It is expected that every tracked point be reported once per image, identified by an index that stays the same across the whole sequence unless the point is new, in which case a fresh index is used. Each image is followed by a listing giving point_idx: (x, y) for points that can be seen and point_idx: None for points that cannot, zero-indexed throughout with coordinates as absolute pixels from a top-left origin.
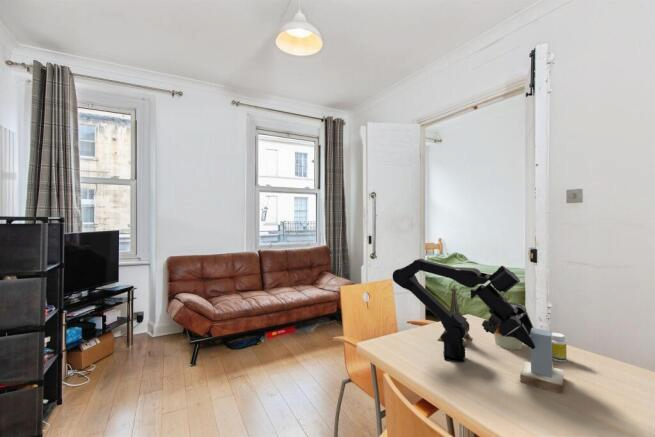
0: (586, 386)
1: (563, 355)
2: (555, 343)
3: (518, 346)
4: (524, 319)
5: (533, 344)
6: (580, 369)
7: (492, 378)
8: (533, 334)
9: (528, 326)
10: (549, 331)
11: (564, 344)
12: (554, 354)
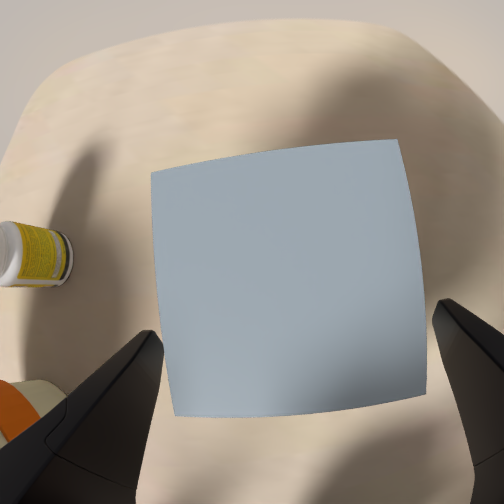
0: (231, 137)
1: (51, 234)
2: (21, 257)
3: (56, 394)
4: (67, 499)
5: (470, 313)
6: (95, 181)
7: (412, 430)
8: (418, 352)
9: (109, 436)
10: (179, 189)
11: (15, 224)
12: (56, 265)
